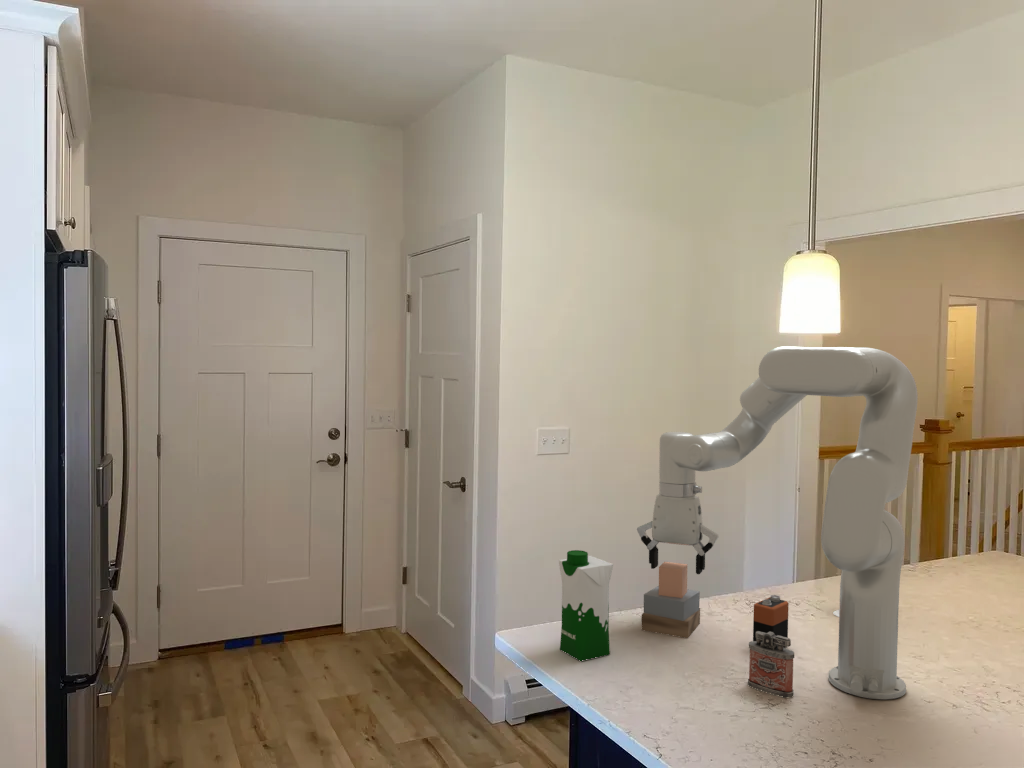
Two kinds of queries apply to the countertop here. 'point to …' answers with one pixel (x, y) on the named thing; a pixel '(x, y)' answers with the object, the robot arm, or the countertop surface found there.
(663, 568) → the pillar block
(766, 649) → the lighter
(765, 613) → the battery
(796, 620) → the countertop surface
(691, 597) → the tower top
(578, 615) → the milk carton
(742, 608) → the countertop surface
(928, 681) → the countertop surface
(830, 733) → the countertop surface
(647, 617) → the tower base
